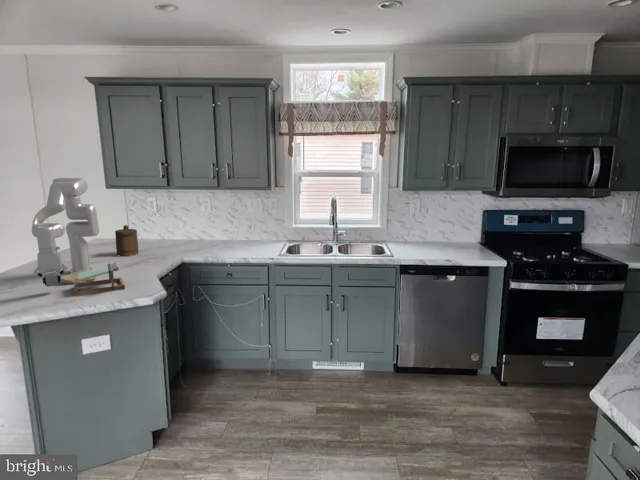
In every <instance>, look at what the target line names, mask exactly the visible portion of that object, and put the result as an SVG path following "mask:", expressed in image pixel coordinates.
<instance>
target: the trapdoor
mask: <svg viewBox="0 0 640 480" xmlns="http://www.w3.org/2000/svg"><path fill="white" fill-rule="evenodd" d="M110 266H111V268H112V270H113V272H117V271H119V267H118V264H117V263H116V262H114V263H110ZM106 274H109V272H108V266H107V265H103V266H99V267H95V268H93V269H92V270H88V271H84V272H81V273H78V279H79V281H82V280H85V279H89V278H93V277H95V278H96V277H100V276H103V275H106Z"/></svg>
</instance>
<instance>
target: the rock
mask: <svg viewBox="0 0 640 480" xmlns="http://www.w3.org/2000/svg"><path fill="white" fill-rule="evenodd" d="M84 271H87V270H84V269H83V270H80V271H78V272H76V273H68V274H66V275H63V277H61V281H60V282H61V283H63V284H66V285H70V284H71V285H73V284H75V283H83V282H91V281H97V278H96V277H93V278H89V279H85V280H82V281H79V279H78V273H81V272H84Z"/></svg>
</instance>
